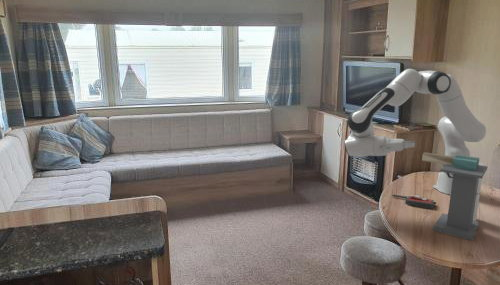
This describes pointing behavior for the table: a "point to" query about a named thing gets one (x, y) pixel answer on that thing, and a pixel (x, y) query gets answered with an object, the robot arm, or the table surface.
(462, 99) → the robot arm
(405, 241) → the table surface
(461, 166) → the tan and teal block
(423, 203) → the walkie-talkie
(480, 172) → the stand
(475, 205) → the cylindrical container
